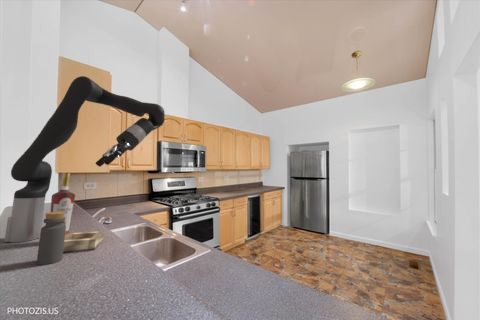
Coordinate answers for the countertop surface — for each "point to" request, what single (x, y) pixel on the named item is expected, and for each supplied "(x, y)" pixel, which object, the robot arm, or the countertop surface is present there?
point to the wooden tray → (82, 241)
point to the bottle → (52, 239)
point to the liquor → (64, 201)
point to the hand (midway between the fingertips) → (101, 164)
